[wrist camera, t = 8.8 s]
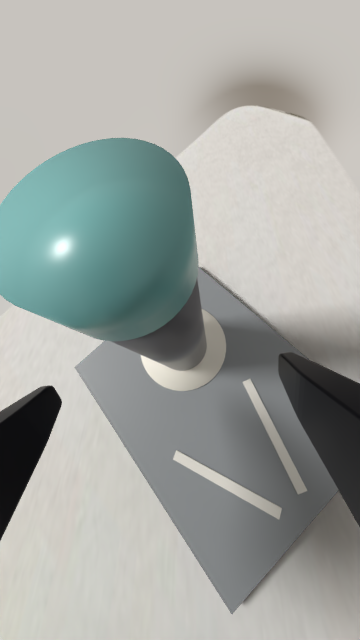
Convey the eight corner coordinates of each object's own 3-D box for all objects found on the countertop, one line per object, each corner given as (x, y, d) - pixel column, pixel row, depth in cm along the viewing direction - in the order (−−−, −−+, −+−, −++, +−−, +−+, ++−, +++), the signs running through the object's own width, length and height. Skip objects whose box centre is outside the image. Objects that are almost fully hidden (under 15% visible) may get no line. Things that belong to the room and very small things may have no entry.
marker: (214, 365, 15) (218, 274, 3) (161, 377, 15) (-33, 341, 3) (200, 315, 17) (167, 115, 4) (152, 327, 17) (-3, 172, 5)
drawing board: (381, 426, 13) (392, 429, 12) (230, 599, 12) (232, 616, 11) (194, 267, 19) (193, 262, 18) (80, 368, 18) (73, 367, 17)
